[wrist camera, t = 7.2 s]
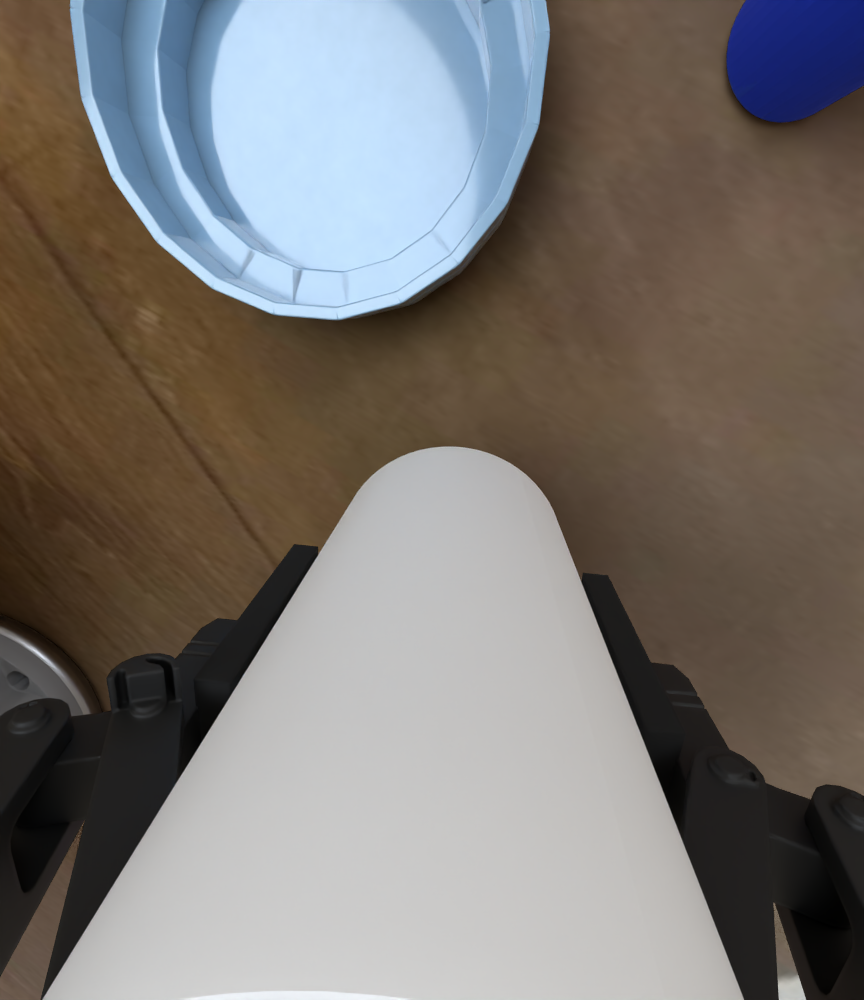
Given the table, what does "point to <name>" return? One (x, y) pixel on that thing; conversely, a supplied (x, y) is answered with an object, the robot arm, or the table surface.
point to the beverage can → (795, 56)
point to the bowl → (315, 137)
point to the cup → (417, 786)
